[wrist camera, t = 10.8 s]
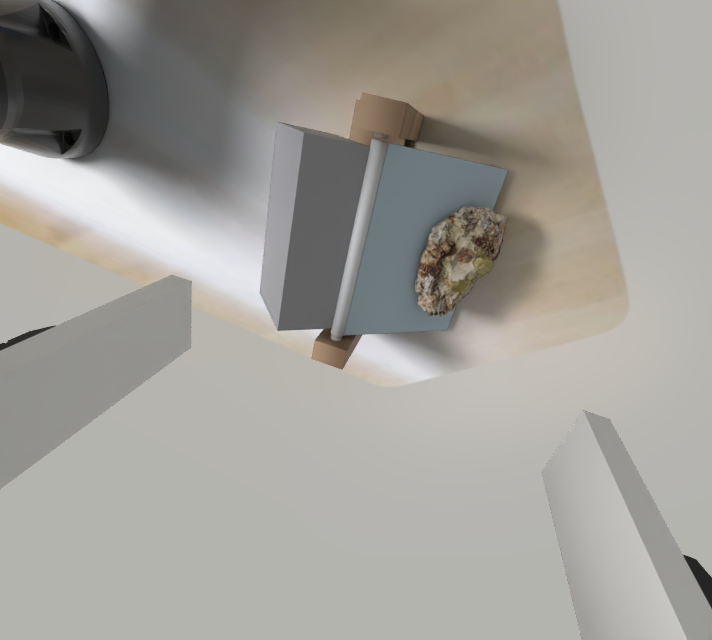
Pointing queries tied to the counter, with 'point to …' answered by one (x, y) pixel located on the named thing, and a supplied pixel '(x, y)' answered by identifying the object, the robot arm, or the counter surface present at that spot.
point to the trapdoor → (358, 230)
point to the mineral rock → (457, 257)
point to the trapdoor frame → (369, 123)
